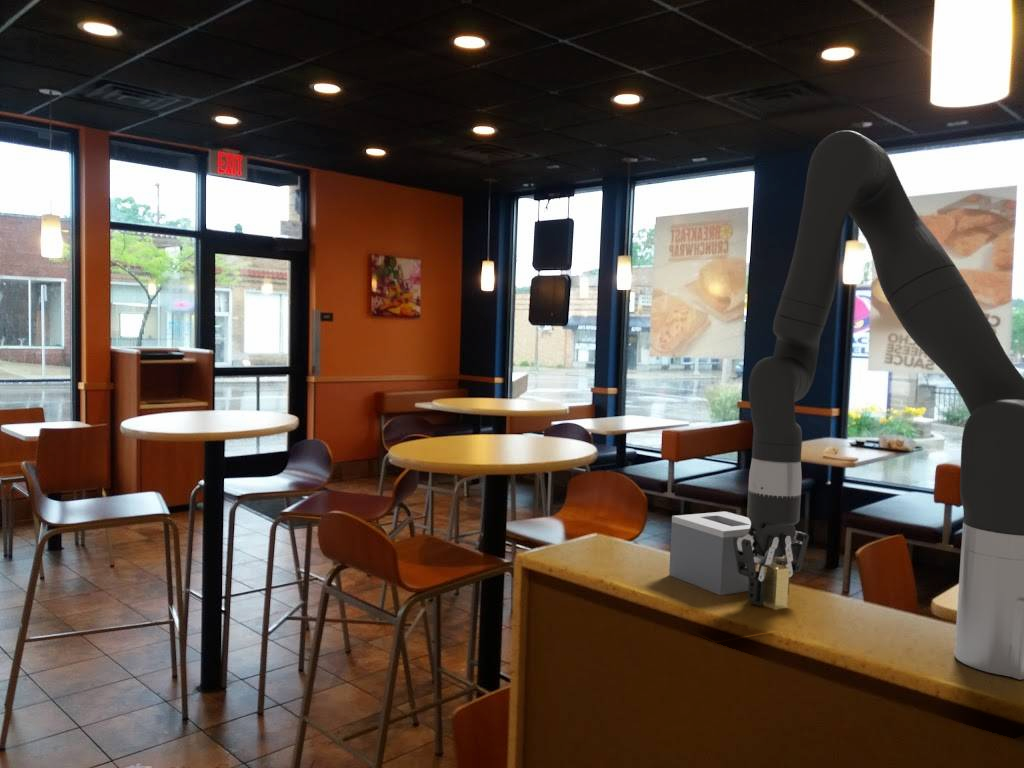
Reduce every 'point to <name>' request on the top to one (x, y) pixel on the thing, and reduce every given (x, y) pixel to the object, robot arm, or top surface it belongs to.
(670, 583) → the top surface
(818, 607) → the top surface
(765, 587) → the tan rectangular block
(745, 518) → the coin box
